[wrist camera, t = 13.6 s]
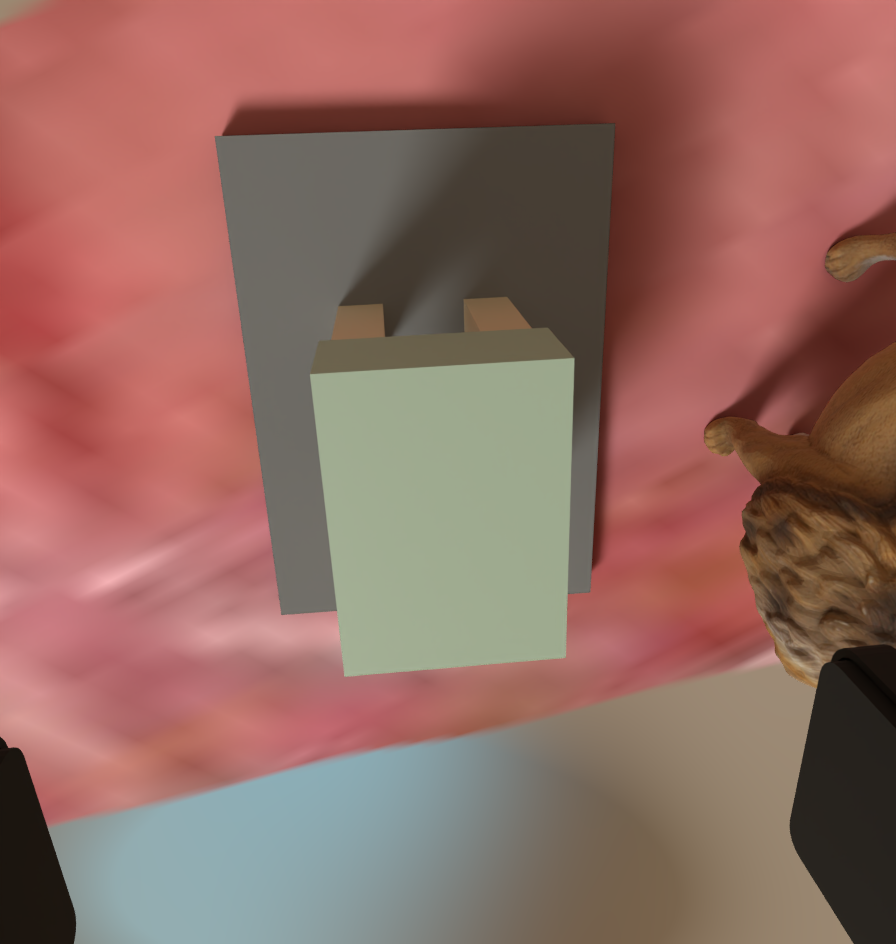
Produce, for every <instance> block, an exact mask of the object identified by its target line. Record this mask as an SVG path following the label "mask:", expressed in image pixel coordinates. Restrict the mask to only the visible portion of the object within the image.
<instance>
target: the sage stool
mask: <svg viewBox="0 0 896 944" xmlns="http://www.w3.org/2000/svg"><path fill="white" fill-rule="evenodd" d="M464 331H465V332H462V333H445V334H428V335H410V336H393V337H385V327H384V313H383V304H369V305H351V306H338V310H337V315H336V319H335V324H334V329H333V334H332V338H331V340H325V341H319V342H318V346H317V350H316V354H315V357H314V361H313V365H312V368H311V372H310V379H311V388H312V397H313V405H314V414H315V423H316V431H317V440H318V449H319V458H320V466H321V475H322V484H323V492H324V501H325V510H326V519H327V527H328V536H329V545H330V553H331V562H332V571H333V579H334V588H335V597H336V606H337V614H338V623H339V632H340V640H341V649H342V658H343V667H344V675H345V677H347V676H358V675H370V674H382V673H393V672H405V671H417V670H428V669H440V668H452V667H464V666H475V665H487V664H499V663H510V662H522V661H534V660H545V659H557V658H566V629H567V595H568V561H569V527H570V493H571V459H572V425H573V391H574V357H573V356H572V355H571V354H570V352H569V351H568V350H567V349H566V348H565V347H564V345H563V344H562V343H561V342H560V341H559V340H558V339H557V337H556V336H555V335H554V334H553V333H552V332H551V331H550V329H549V328H548V327H547V328H531V326H530V325H529V324H528V323H527V321H526V320H525V319H524V318H523V316H522V315H521V314H520V312H519V311H518V310H517V309H516V307H515V306H514V305H513V304H512V302H511V301H510V300H509V299H508V297H495V298H477V299H464Z"/></svg>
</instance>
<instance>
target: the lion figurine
mask: <svg viewBox="0 0 896 944" xmlns="http://www.w3.org/2000/svg"><path fill="white" fill-rule="evenodd" d="M883 260H895V261H896V232H895V233H890V234H882V235H860V236H854V237H850V238H847V239H845V240H843V241H840V242H838V243H837V244H836V245H834V246H833V247H832V248H831V249H830V250H829V251H828V253H827V256H826V260H825V268H826V270H827V271H828V273H830V274H831V275H832V276H833V277H834V278H835V279H838V280H840V281H843V282H850V281H854V280H856V279H857V278H859V277H860V276H861V275H862V274H863V273H864V272H865V271H866V270H867V269H868V268H869V267H870V266H871V265H873V264H875V263H876V262H879V261H883ZM704 442H705V444H706V446H707V447H708V449H709V450H710V451H711V452H712V453H716V454H719V455H721V456H728V455H729V454H731V453H732V452H733V451H734V450H736V452H737V454H738V456H739V457H740V459H741V461H742V462H743V464H744V465H745V467H746V468H747V470H748V471H749V472H750V473H751V474H752V475H753V476H754V477H755V478H756V479H757V480H758V481H759V482H760V484H761V485H760V486H759V487H757V489H756V490H755V491H754V493H753V495H752V499H751V501H749V502H748V503H747V504H746V508H745V509H744V510H743V511H742V521H743V526H744V529H745V531H746V533H745V535H744V537H743V539H742V540H741V542H740V546H739V547H740V553H741V556H742V558H743V561H744V564H745V566H746V569H747V572H748V578H749V582H750V584H751V586H752V589H753V590H754V593H755V600H756V607H757V610H758V612H759V614H760V615H761V616H762V618H763V622H764V623H765V626H766V629H767V630H768V632H769V634H770V635H771V637H772V638H773V640H774V644H775V653H776V655H777V656H778V658H779V659H780V661H781V662H782V664H783V666H784V668H785V670H786V672H787V673H788V674H789V675H790V676H792V677H794V678H795V679H797V680H798V681H800V682H802V683H804V684H807V685H809V686H812V687H814V688H817V684H818V680H819V675H820V671H821V668H822V666H823V665H824V664H825V663H828V662H831V659H832V656H833V654H834V653H835V652H836V651H837V650H839V649H842V648H850V647H860V646H870V645H879V644H886V645H890V646H892V647H894V648H895V649H896V342H894V343H893V344H891V345H890V346H888V347H886V348H885V349H883V350H882V351H880V352H878V353H877V354H875V355H873V356H872V357H870V358H869V359H867V360H866V361H865V362H864V363H863V364H862V365H861V366H860V367H859V368H858V369H857V370H856V371H854V372H853V373H852V374H851V375H850V376H849V377H848V378H847V379H846V380H845V381H844V383H843V384H842V385H841V386H840V387H839V388H838V389H837V391H836V392H835V393H834V395H833V396H832V398H831V399H830V401H829V402H828V404H827V405H826V407H825V408H824V410H823V412H822V413H821V415H820V416H819V418H818V420H817V422H816V423H815V425H814V427H813V429H812V431H811V433H810V435H808V434H805V433H798V434H794V435H778V434H776V433H773V432H771V431H769V430H767V429H765V428H763V427H761V426H759V425H758V423H757V422H755V421H753V420H749V419H745V418H739V417H724V418H719V419H716V420H714V421H713V422H711V423H710V424H709V425H708V426H707V427H706V429H705V430H704Z"/></svg>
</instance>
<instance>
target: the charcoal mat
mask: <svg viewBox="0 0 896 944" xmlns="http://www.w3.org/2000/svg"><path fill="white" fill-rule="evenodd" d="M614 138H615V123H609V124H577V125H546V126H515V127H484V128H454V129H423V130H392V131H361V132H330V133H299V134H268V135H237V136H215V141H216V148H217V156H218V163H219V170H220V177H221V184H222V191H223V199H224V206H225V213H226V220H227V227H228V234H229V242H230V249H231V256H232V263H233V270H234V277H235V285H236V292H237V299H238V306H239V313H240V320H241V328H242V335H243V342H244V349H245V356H246V363H247V371H248V378H249V385H250V392H251V399H252V406H253V414H254V421H255V428H256V435H257V442H258V449H259V457H260V464H261V471H262V478H263V485H264V492H265V500H266V507H267V514H268V521H269V528H270V535H271V543H272V550H273V557H274V564H275V571H276V578H277V586H278V593H279V600H280V607H281V614H282V615H287V614H300V613H314V612H328V611H337V606H336V597H335V588H334V579H333V571H332V562H331V553H330V545H329V536H328V527H327V519H326V510H325V501H324V492H323V484H322V475H321V466H320V458H319V449H318V440H317V431H316V423H315V414H314V405H313V397H312V388H311V379H310V372H311V368H312V365H313V361H314V357H315V354H316V350H317V346H318V342H319V341H325V340H331V338H332V334H333V329H334V324H335V319H336V315H337V310H338V306H351V305H369V304H383V313H384V327H385V337H393V336H410V335H428V334H445V333H462V332H465V331H464V299H477V298H495V297H508V299H509V300H510V301H511V302H512V304H513V305H514V306H515V307H516V309H517V310H518V311H519V312H520V314H521V315H522V316H523V318H524V319H525V320H526V321H527V323H528V324H529V325H530V326H531V328H547V327H548V328H549V329H550V331H551V332H552V333H553V334H554V335H555V336H556V337H557V339H558V340H559V341H560V342H561V343H562V344H563V345H564V347H565V348H566V349H567V350H568V351H569V352H570V354H571V355H572V356H573V357H574V391H573V425H572V459H571V493H570V527H569V561H568V594H575V593H589V592H590V588H591V569H592V550H593V532H594V513H595V494H596V475H597V457H598V438H599V419H600V400H601V382H602V363H603V344H604V326H605V307H606V288H607V269H608V251H609V232H610V213H611V194H612V176H613V157H614Z"/></svg>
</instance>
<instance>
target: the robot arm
mask: <svg viewBox="0 0 896 944" xmlns="http://www.w3.org/2000/svg"><path fill="white" fill-rule="evenodd" d="M790 834H791V838H792V842H793V844H794V847H795V850H796V851H797V854H798V855H799V857H800V859H801V860H802V862H803V863H804V865H805V867H806V868H807V870H808V871H809V873H810V875H811V876H812V878H813V879H814V881H815V883H816V884H817V886H818V887H819V889H820V891H821V892H822V894H823V895H824V897H825V899H826V900H827V902H828V903H829V905H830V906H831V908H832V910H833V911H834V913H835V914H836V916H837V918H838V919H839V921H840V922H841V924H842V926H843V927H844V929H845V931H846V932H847V934H848V935H849V937H850V938H851V940H852V941H853V943H854V944H896V649H895V648H894V647H892V646H890V645H886V644H879V645H870V646H860V647H850V648H842V649H839V650H837V651H836V652H835V653H834V654H833V656H832V659H831V662H828V663H825V664H824V665H823V666H822V668H821V671H820V675H819V680H818V684H817V689H816V694H815V700H814V705H813V709H812V714H811V719H810V724H809V729H808V734H807V739H806V744H805V749H804V754H803V759H802V764H801V769H800V773H799V778H798V783H797V788H796V794H795V798H794V803H793V808H792V813H791V818H790ZM75 932H76V916H75V911H74V907H73V904H72V901H71V898H70V896H69V892H68V889H67V886H66V883H65V880H64V877H63V874H62V871H61V868H60V865H59V862H58V859H57V855H56V852H55V849H54V846H53V843H52V840H51V837H50V834H49V831H48V828H47V825H46V822H45V819H44V816H43V813H42V810H41V807H40V803H39V800H38V797H37V794H36V791H35V788H34V785H33V782H32V779H31V776H30V773H29V770H28V767H27V764H26V761H25V758H24V755H23V753H22V751H21V750H20V749H19V748H8V746H7V744H6V742H5V741H4V740H3V739H2V738H1V737H0V944H74V939H75Z"/></svg>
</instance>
